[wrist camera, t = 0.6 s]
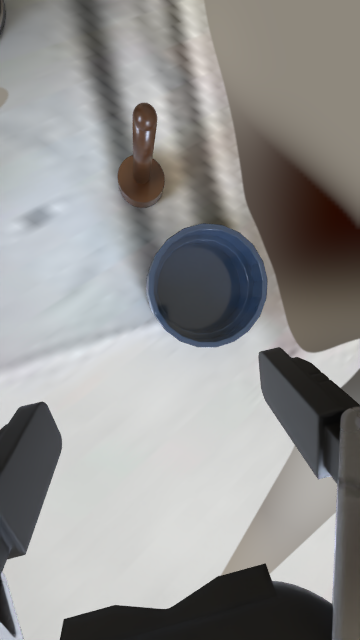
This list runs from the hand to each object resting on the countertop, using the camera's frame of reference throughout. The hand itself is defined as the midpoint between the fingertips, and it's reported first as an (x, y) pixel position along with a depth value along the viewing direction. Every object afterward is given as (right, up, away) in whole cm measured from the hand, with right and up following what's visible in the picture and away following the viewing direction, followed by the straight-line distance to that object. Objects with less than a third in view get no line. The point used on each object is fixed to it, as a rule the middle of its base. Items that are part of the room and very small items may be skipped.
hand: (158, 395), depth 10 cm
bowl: (+3, +7, +24) cm, 26 cm away
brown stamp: (-4, +19, +22) cm, 29 cm away
